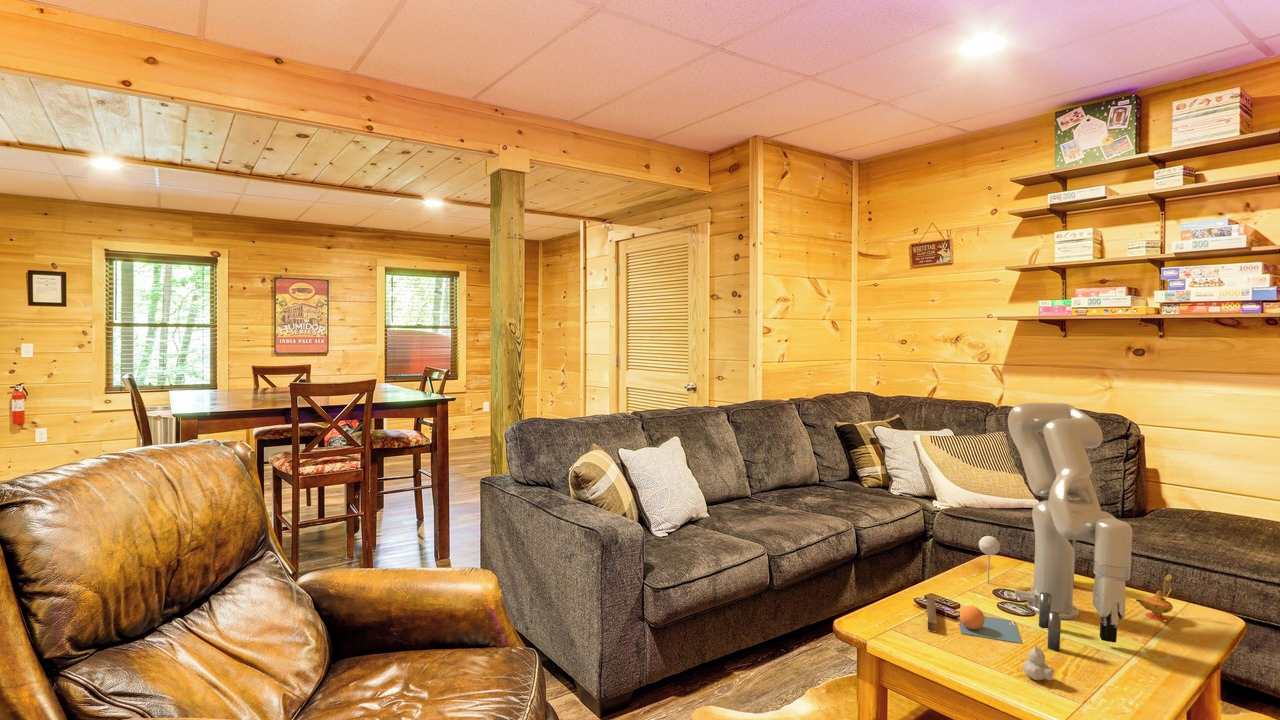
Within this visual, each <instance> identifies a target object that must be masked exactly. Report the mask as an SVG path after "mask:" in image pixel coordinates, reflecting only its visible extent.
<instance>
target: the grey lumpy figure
mask: <svg viewBox="0 0 1280 720" xmlns="http://www.w3.org/2000/svg"><path fill="white" fill-rule="evenodd" d="M1027 656H1028V658H1027V659H1028V660H1025V661H1024V662H1023V667H1022V668H1023V671H1024V674H1025V675H1026V676H1027V677H1028V678H1030V679H1032V680H1035V681H1043V680H1047V681H1052V680H1053V679H1054V678H1053V675H1054V674H1055V670H1054V669H1053V668H1052V667H1051V666H1049V665H1048V664H1047V663H1045V662H1046V655H1045V653H1044V652H1043V650H1042V649H1041V647H1038V646H1037V643H1035V645H1034V648H1032V649H1030V652H1027Z"/></svg>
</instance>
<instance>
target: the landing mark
mask: <svg viewBox="0 0 1280 720" xmlns="http://www.w3.org/2000/svg"><path fill="white" fill-rule="evenodd" d="M984 618H985V622H984V625H983V626H982V627H981V628H980V629H977V630H971V629H968V628H966V627H965V626H964V625H963V624H962V622H961V621H959V620H958V622H959V623H960V624H959V630H961V631H960V634H961V633H962V634H961V635H967V636H972V637H978V638H979V637H980V638H983V639H990V640H997V641H1001V640H1003V641H1002V642H1007V641H1008V643H1013V642H1015V644H1019V643H1020V645H1022V644H1023V642H1022V640H1021V636H1020V633H1019V630H1018V627H1017V624H1016V622H1015V623H1014V624H1015V625H1016V626H1015V625H1013V624H1012V623H1011V621H1013V620H1011V619H1005V618H1001V617H1000V618H999V617H992V616H986V615H984ZM1009 623H1010V624H1011V625H1010V624H1009Z"/></svg>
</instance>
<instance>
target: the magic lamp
mask: <svg viewBox="0 0 1280 720" xmlns="http://www.w3.org/2000/svg"><path fill="white" fill-rule="evenodd" d="M1172 578H1173V577H1172V575H1171V574H1168V575H1166V576H1165V577H1164V580H1163V581H1164V582H1163V583H1164V584H1163V593H1162V591H1161V590H1157V591H1156V593H1155V594H1154V595H1153V596H1152V597H1151V596H1149V597H1143V598H1142V599H1137V598H1136V599H1135V601H1136V602H1138V603H1139V604H1140V605H1141V606H1142V607H1143V608H1145V609H1146V610H1148V611H1151V612H1148V613H1147V612H1146V613H1145V614H1144V615H1145V617H1147V618H1148V619H1150V618H1151V620H1153V619H1154V621H1157V620H1159V621H1158V622H1165V621H1164V620H1167V619H1168V617H1166V616H1165V615H1164V614H1167V613H1169V612H1171V611H1172V610H1173V609H1174V605H1173V604H1172V603H1171V602H1170V601H1167V600H1166V599H1168V596H1170V593H1171V591H1172V585H1171V582H1170V581H1171V580H1172ZM1167 583H1168V586H1169V590H1168V593H1167V594H1166V592H1167Z"/></svg>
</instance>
